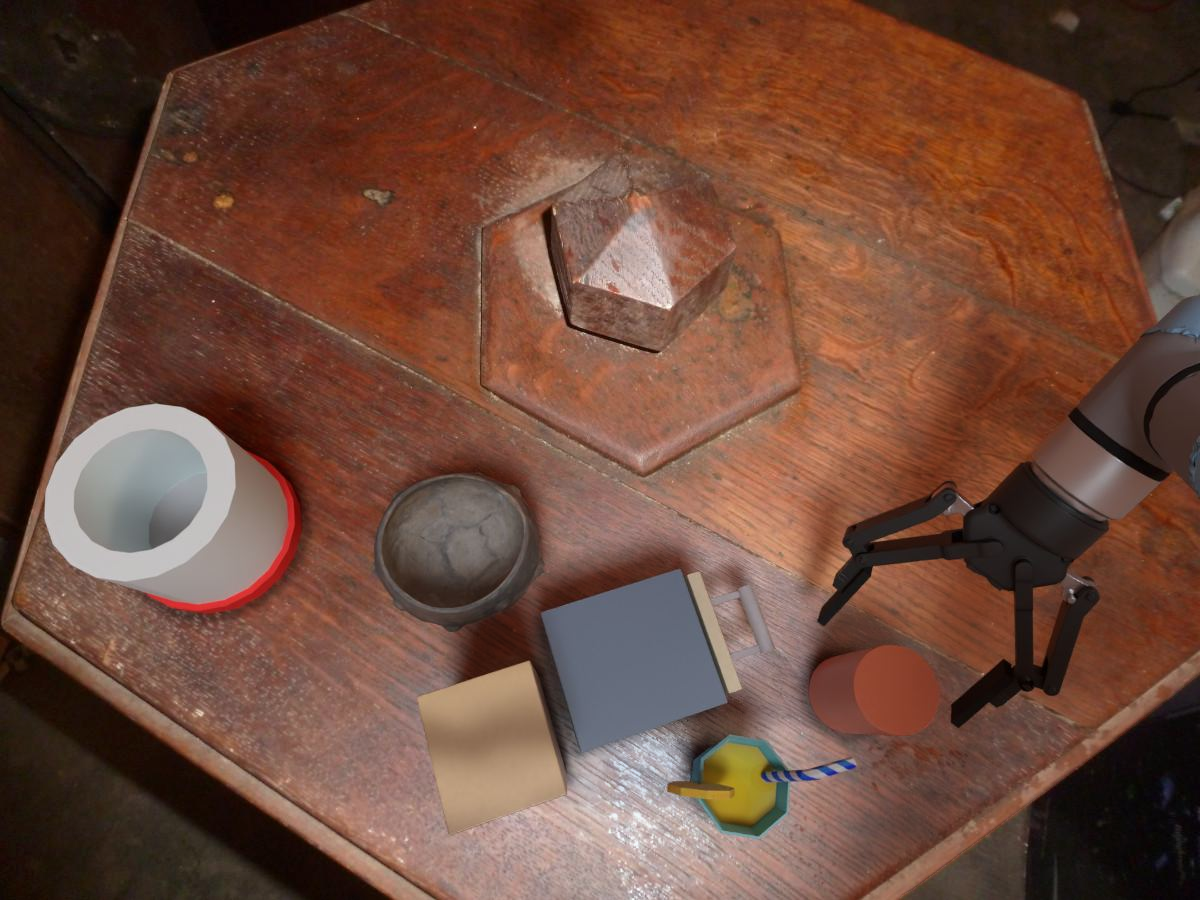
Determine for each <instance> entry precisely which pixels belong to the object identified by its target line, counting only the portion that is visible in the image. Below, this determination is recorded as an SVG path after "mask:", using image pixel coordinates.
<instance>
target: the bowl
mask: <svg viewBox="0 0 1200 900" xmlns="http://www.w3.org/2000/svg"><path fill="white" fill-rule="evenodd" d="M521 493H522V492H521V490H520V489H519V488H518V487H516V485H514V484H505V483H503V482H501V481H499V480H497V479H495V478H492V477H489V476H486V475H483V474H482V473H481V472H479V471H478V472H473V471H472V472H451V473H444V474H439V475H435V476H432V477H428V478H424V479H422V480H419V481H417V482H415V483H413V484H411V485H409V486H408V487H406V488H404V489H401V490H397V491H396V492H395V493H394V494H393V495H392V496H391V500H390V503H389V504H388V506H387V507H386V510H385V512H384V513H383V514H382V517H381V519H380V521H379V523H378V526H377V528H376V533H375V538H374V544H373V545H374V546H373V564H372V566H371V571H372V572H371V575H372V577H373V578H375V579H378V580H380V583H381V584H382V586H383V588H384V589H385V591H386V592H387V593H388V595H389V596H390V597H391V599H392V602H393V603H392V604H393V605H394V606H395V608H397V609H399V610H400V611H403V612H407V613H408V614H409V615H411V616H412V617H414V618H415V619H417V620H419V621H421V622H424V623H428V624H429V623H430V624H434V625H438V626H440V627H442V628H444V630H446V631H447V632H448V633H458V632H460V630H462V629H463V627H466V626H468V625H473V624H477V623H480V622H482V621H485V620H487V619H489V618H492V617H494V616H495V615H497V614H500V613H501V612H503V611H506V610H508V609H509V608H510V607H511V606H513V605H514V604H516V603H517V602H518V601H519V600H520V599H521V598H522V597H523V596H524V595H525V594H526V593H527V591H528V589H530V587H531V586H532V584H533V583H534V581H536V580H537V579H538V578H539V577H540V576H542V575H543V574H544V573H545V567H546V563H545V561H544V559H543V558H542V556H541V533H540V529H539V525H538V522H537V519H536V516H535V515H534V513H533V511H532V509H531V508H530V506H529V505H528V503H527V501H526V500H525V499H524V497H523V495H522V494H521Z"/></svg>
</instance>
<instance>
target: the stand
mask: <svg viewBox="0 0 1200 900" xmlns="http://www.w3.org/2000/svg"><path fill="white" fill-rule="evenodd" d="M416 701H417V705H418V710H419V713H420V719H421V722H422V726H423V731H424V735H425V739H426V744H427V748H428V753H429V758H430V761H431V765H432V771H433V775H434V778H435V782H436V783H435V784H436V788H437V791H438V795H439V800H440V804H441V808H442V809H441V810H442V812H443V818H444V821H445V825H446V829H447V834H448V836H453V835H456V834H458V833H462V832H464V831H467V830H471V829H474V828H476V827H479V826H481V825H485V824H487V823H490V822H492V821H496V820H499V819H501V818H505V817H507V816H510V815H513V814H515V813H519V812H521V811H524V810H527V809H529V808H530V809H531V808H533V807H535V806H538V805H541V804H544V803H547V802H550V801H553V800H556V799H559V798H561V797H565V796H566V795H567V794H568V783H567V782H568V780H567V777H568V776H567V770H566V767H565V764H564V763H565V762H564V760H563V756H562V753H561V749H560V745H559V742H558V739H557V735H556V731H555V727H554V724H553V722H552V717H551V714H550V710H549V707H548V702H547V700H546V697H545V692H544V689H543V686H542V683H541V679H540V676H539V674H538V672H537V671H536V668H535V667H534V665H533V664H532V662H531V660H526V661H523V662H519V663H516V664H513V665H510V666H506V667H504V668H499V669H498V670H494V671H492V672H488V673H485V674H482V675H479V676H476V677H472V678H470V679H467V680H466V679H465V680H463V681H461V682H457V683H455V684H451V685H448V686H445V687H442V688H439V689H436V690H433V691H429V692H426V693H423V694H420V695H418V696H416Z"/></svg>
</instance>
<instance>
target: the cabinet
mask: <svg viewBox="0 0 1200 900" xmlns="http://www.w3.org/2000/svg"><path fill="white" fill-rule="evenodd" d="M684 578H685V577H684V574H683V571H682V569H681V568H680V567H679V568H676V569H674V570H670V571H667V572H664V573H661V574H658V575H655V576H652V577H648V578H645V579H642V580H638V581H635V582H632V583H629V584H625V585H622V586H619V587H617V588H613V589H610V590H607V591H604V592H600V593H598V594H594V595H591V596H588V597H587V596H586V597H584V598H581V599H578V600H575V601H571V602H568V603H566V604H562V605H559V606H556V607H552V608H550V609H546V610H543V611H540V617H541V621H542V625H543V629H544V633H545V636H546V639H547V643H548V646H549V650H550V654H551V657H552V660H553V664H554V667H555V671H556V674H557V679H558V682H559V685H560V688H561V692H562V696H563V699H564V701H565V702H564V703H565V705H566V709H567V713H568V715H569V720H570V722H571V726H572V730H573V733H574V736H575V739H576V743H577V746H578V749H579V751H580V753H581V754H583V753H586V752H590V751H591V750H592V751H593V750H594V749H597V748H601V747H603V746H606V745H610V744H612V743H615V742H618V741H620V740H623V739H627V738H629V737H633V736H636V735H638V734H641V733H644V732H647V731H650V730H652V729H655V728H658V727H661V726H665V725H667V724H670V723H674V722H676V721H679V720H681V719H685V718H688V717H691V716H694V715H697V714H699V713H702V712H705V711H708V710H710V709H713V708H717V707H719V706H722V705H726V704H728V703H729V701H728V698H727V696H726V695H727V694H725V693H724V690H723V687H722V684H721V681H720V678H719V676H718V673H717V670H716V667H715V664H714V661H713V659H712V656H711V653H710V650H709V647H708V644H707V642H706V639H705V636H704V633H703V630H702V627H701V625H700V622H699V619H698V616H697V613H696V611H695V608H694V605H693V602H692V599H691V596H690V594H689V591H688V588H687V585H686V582H685V579H684Z"/></svg>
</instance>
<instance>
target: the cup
mask: <svg viewBox="0 0 1200 900" xmlns="http://www.w3.org/2000/svg"><path fill="white" fill-rule="evenodd" d="M692 761H693V762H692V770H691V778H690V779H691V781H688V780H685V781H683V780H673V781H670V782H668V783H667V786H666V788H667V789H666V792H667V793H669V794H672V795H677V796H679V797H688V798H693V799H694V798H696V800H697V801H698V803H699V805H700V806H701V807H702V809H703V810H704V812H705V813H706V815H707V816H708V817H709V818H710V820H711V821H712V823H713V825H715V827H716V829H717V830H718V832H720V834H725V835H729V836H730V835H731V836H737V837H744V838H749V839H755V840H760V839H762V838H763V837H764V836H765V835H766V834H767V833H768V832H770V831H771V830H772V829H773V828H774V827H775V826H776V825H778V824H779V823H780V822H781V821H782V820H783V819H784V818H785V817H787V816H788V815H789V808H790V794H791V793H790V791H791V783H794V782H795V783H796V782H797V783H799V782H812V781H819V780H823V779H826V778H829V777H832V776H835V775H838V774H841V773H844V772H847V771H851V770H854V769H856V768H857V761H856V760H855V758H854V757H852V756H849V757H846V758H843V759H839V760H835V761H831V762H828V763H825V764H821V765H817V766H814V767H811V768H805V769H790V770H789V768H788V767H787V765H786V764H785V763H784V761H783V760H782V759H781V757H780V756H779V755H778V753H777V752H776V751H775V750H774V748H773V746H771V744H770V743H769V741H768V740H766V739H760V738H754V737H749V736H742V735H736V734H728V735H727V736H725V737H724V738H723V739H722V740H720V741H719V742H717V743H714V744H712V745H710V746H709V747H708V748H707V749H705V750H703V752H701V753H700V754H699V755H698V756H697V757H696V758H694V759H693V760H692Z"/></svg>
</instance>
